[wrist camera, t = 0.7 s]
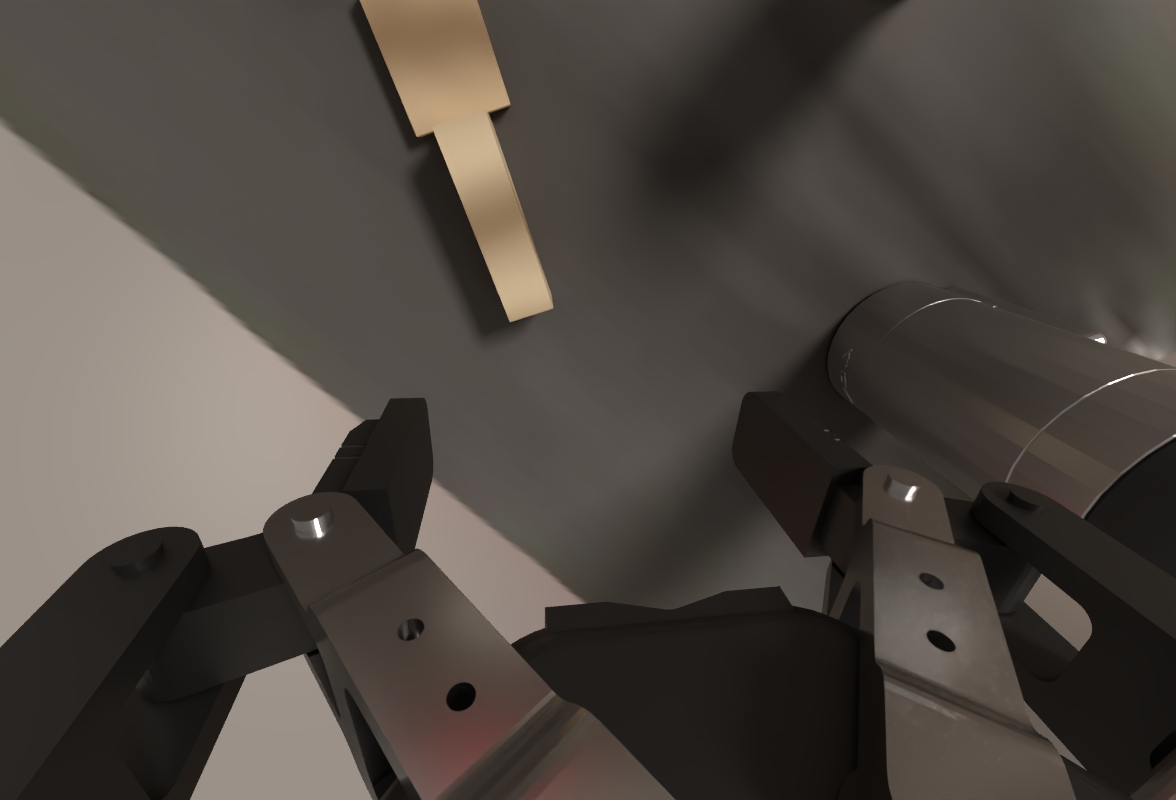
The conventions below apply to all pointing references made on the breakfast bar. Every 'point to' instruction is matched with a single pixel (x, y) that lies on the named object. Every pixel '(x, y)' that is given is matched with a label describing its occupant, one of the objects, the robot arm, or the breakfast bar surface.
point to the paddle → (463, 129)
